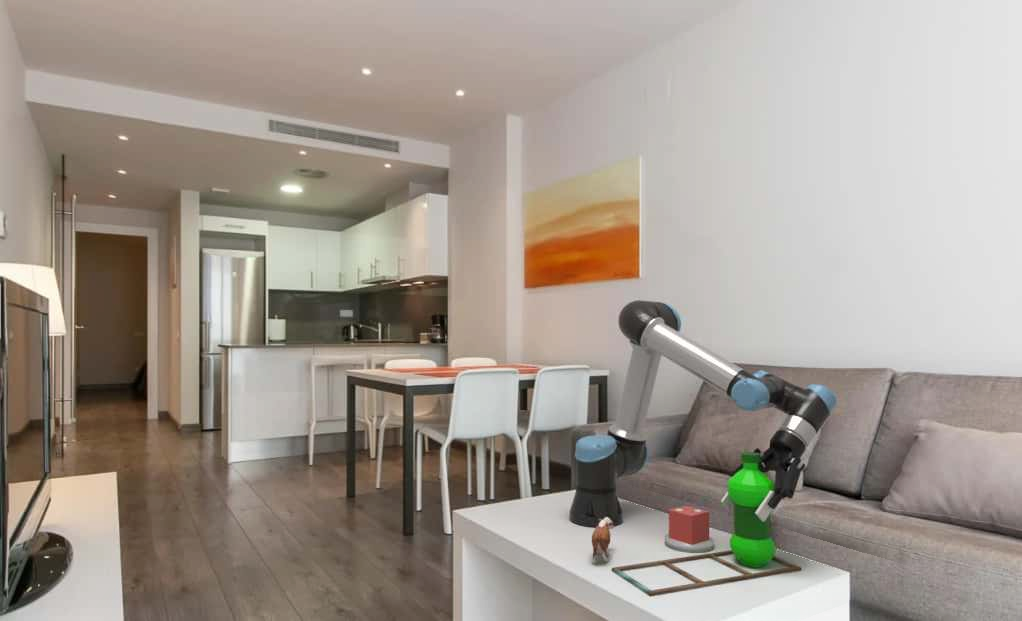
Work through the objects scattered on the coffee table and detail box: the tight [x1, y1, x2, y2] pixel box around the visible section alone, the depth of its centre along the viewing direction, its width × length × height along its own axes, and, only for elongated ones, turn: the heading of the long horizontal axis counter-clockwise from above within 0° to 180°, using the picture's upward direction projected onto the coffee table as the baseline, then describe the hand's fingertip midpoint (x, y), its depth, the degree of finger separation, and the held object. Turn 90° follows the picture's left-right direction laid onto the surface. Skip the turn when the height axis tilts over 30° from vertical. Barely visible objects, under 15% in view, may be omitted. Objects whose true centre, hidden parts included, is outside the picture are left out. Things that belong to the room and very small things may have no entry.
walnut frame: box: [611, 549, 802, 597], centre depth 138 cm, size 15×40×1 cm, turn 111°
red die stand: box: [664, 505, 715, 554], centre depth 156 cm, size 12×12×9 cm
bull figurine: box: [591, 517, 614, 565], centre depth 147 cm, size 4×13×8 cm, turn 161°
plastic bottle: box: [727, 451, 776, 568], centre depth 144 cm, size 10×10×25 cm
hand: (741, 511), depth 143 cm, fingers closed on plastic bottle, 10 cm apart
